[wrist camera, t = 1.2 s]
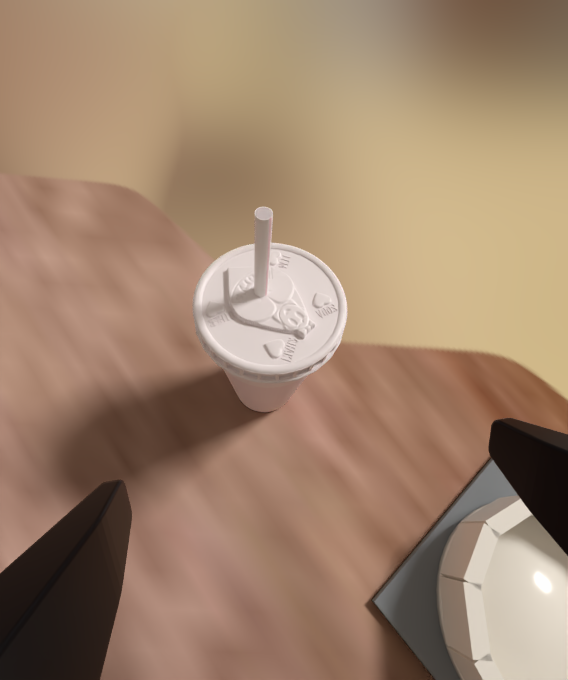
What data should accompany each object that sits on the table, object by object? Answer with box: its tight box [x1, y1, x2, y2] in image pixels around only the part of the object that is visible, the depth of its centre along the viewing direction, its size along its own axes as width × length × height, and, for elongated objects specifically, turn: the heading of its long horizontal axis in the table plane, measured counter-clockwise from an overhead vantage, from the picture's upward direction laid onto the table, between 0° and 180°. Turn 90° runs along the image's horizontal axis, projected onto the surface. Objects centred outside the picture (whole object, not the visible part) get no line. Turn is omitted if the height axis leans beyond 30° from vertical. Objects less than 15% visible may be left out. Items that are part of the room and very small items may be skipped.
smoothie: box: [193, 207, 347, 412], centre depth 17 cm, size 6×6×14 cm
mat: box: [372, 458, 517, 680], centre depth 19 cm, size 12×12×1 cm
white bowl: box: [436, 495, 568, 680], centre depth 17 cm, size 11×11×3 cm
